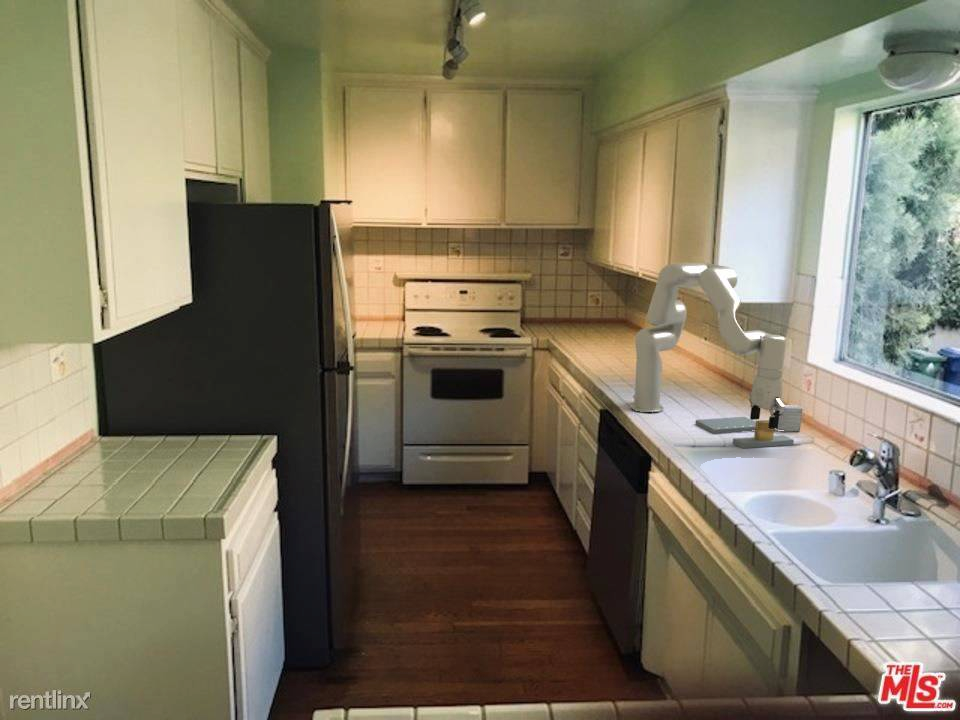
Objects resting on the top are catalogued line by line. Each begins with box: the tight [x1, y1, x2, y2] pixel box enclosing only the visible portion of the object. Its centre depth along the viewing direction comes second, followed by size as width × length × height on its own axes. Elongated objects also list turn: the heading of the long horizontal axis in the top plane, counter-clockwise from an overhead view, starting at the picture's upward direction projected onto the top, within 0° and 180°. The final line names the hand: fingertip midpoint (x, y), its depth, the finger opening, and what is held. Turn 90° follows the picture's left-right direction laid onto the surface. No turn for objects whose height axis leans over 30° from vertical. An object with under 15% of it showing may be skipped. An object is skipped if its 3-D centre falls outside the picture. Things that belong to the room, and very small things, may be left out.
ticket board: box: [695, 416, 756, 435], centre depth 261 cm, size 12×20×2 cm, turn 105°
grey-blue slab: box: [732, 419, 795, 449], centre depth 243 cm, size 6×19×8 cm, turn 105°
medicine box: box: [774, 404, 804, 432], centre depth 259 cm, size 8×4×9 cm, turn 92°
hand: (763, 423), depth 242 cm, fingers open, 9 cm apart
